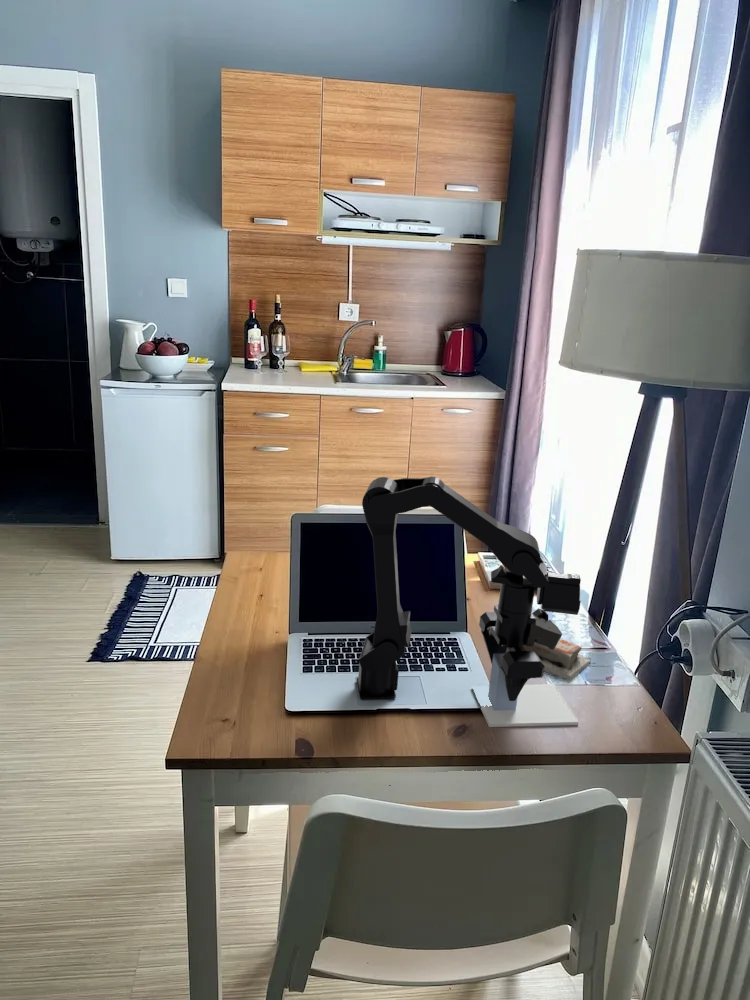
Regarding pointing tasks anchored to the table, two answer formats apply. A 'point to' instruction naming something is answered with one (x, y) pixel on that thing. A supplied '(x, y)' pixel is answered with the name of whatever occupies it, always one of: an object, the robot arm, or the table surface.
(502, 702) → the block
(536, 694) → the mat
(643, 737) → the table surface
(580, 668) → the packaged product
